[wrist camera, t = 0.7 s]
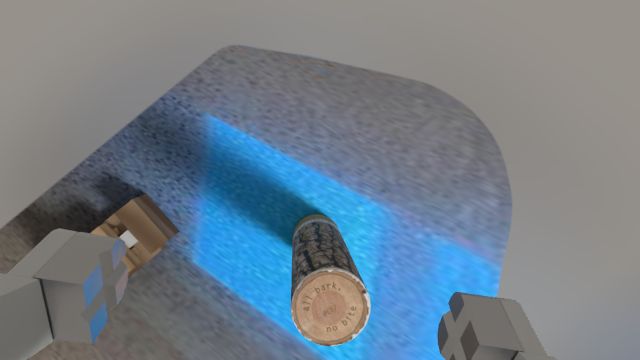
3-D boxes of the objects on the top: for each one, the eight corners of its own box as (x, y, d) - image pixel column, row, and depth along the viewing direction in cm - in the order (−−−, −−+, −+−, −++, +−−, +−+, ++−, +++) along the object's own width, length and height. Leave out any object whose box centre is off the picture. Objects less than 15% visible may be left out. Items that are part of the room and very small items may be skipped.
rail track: (137, 183, 57) (103, 193, 47) (186, 239, 58) (163, 260, 48) (-132, 402, 58) (-221, 458, 48) (-78, 452, 59) (-153, 516, 49)
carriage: (110, 220, 55) (73, 238, 46) (145, 258, 56) (115, 283, 47) (60, 261, 55) (12, 287, 46) (95, 299, 56) (55, 331, 47)
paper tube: (284, 226, 59) (276, 293, 34) (325, 204, 59) (348, 255, 34) (306, 266, 59) (314, 359, 35) (347, 244, 59) (384, 322, 35)
